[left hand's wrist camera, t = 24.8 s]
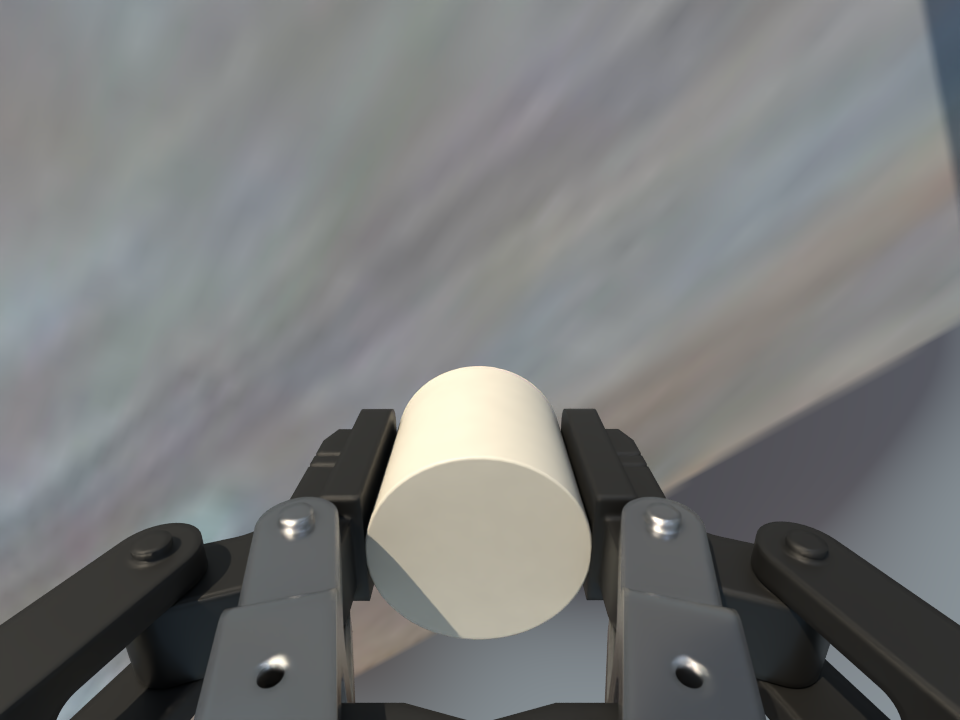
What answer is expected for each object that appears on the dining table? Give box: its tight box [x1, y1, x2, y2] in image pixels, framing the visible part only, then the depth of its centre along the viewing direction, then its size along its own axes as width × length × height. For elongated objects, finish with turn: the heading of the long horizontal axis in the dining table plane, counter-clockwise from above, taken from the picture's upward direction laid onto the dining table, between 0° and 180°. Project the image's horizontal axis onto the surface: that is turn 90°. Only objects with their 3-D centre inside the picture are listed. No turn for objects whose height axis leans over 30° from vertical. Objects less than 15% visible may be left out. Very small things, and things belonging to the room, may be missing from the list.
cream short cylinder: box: [365, 366, 592, 640], centre depth 11 cm, size 4×4×4 cm
